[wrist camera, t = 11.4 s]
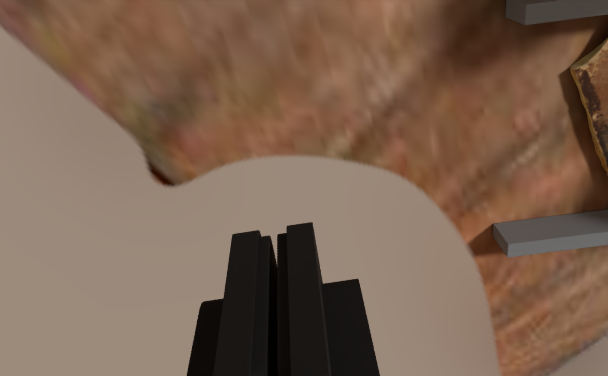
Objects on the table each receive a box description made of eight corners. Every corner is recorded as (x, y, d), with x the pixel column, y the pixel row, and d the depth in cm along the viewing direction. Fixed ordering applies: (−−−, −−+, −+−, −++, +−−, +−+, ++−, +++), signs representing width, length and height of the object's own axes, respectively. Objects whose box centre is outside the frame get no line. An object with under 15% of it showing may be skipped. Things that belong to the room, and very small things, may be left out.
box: (506, -2, 34) (526, 4, 31) (725, -31, 33) (764, -27, 31) (492, 236, 42) (507, 257, 39) (667, 214, 42) (694, 233, 39)
